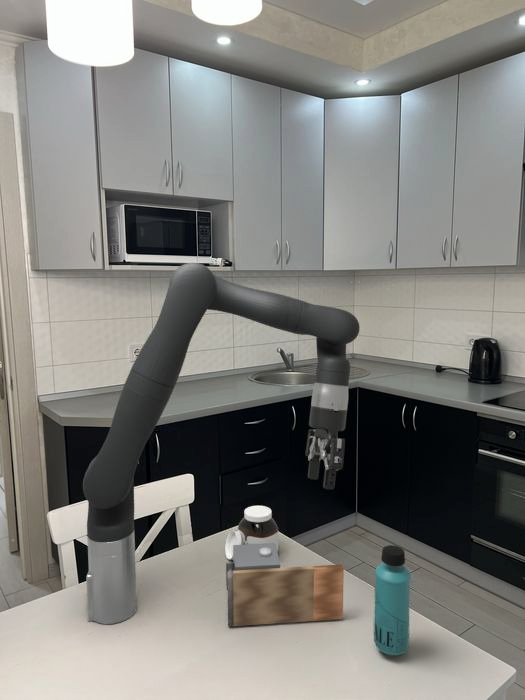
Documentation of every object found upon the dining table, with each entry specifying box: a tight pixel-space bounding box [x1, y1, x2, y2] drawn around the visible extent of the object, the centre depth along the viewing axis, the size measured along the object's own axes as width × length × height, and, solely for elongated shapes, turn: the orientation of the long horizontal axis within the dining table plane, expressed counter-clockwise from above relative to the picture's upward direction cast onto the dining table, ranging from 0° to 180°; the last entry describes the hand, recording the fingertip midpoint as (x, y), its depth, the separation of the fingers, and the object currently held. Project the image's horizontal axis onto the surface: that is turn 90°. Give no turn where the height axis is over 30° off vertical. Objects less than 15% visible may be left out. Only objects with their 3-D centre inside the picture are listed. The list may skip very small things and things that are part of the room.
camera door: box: [226, 563, 345, 628], centre depth 103 cm, size 23×1×11 cm, turn 96°
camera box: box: [225, 543, 281, 592], centre depth 108 cm, size 11×9×13 cm
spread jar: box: [224, 505, 280, 561], centre depth 129 cm, size 12×11×12 cm
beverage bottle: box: [373, 544, 412, 656], centre depth 94 cm, size 6×7×20 cm
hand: (320, 483), depth 108 cm, fingers open, 8 cm apart
